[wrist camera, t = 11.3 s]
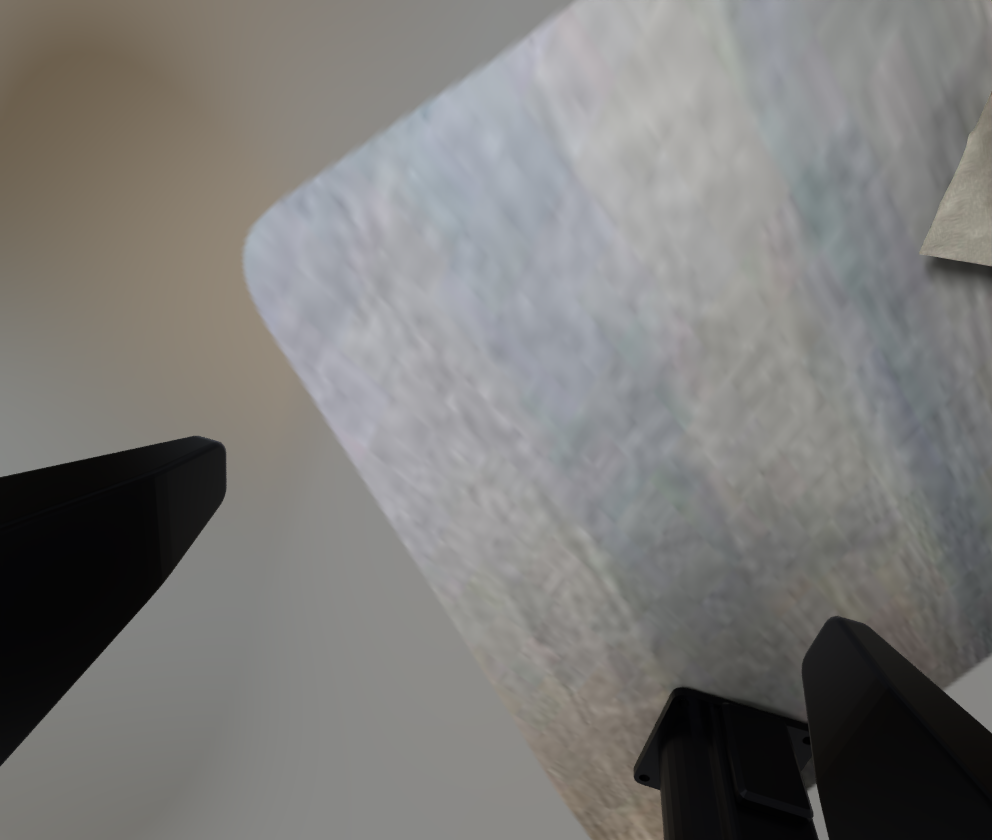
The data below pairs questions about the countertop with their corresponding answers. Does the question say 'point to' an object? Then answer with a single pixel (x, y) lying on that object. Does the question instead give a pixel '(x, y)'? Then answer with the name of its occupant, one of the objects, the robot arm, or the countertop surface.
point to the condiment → (967, 203)
